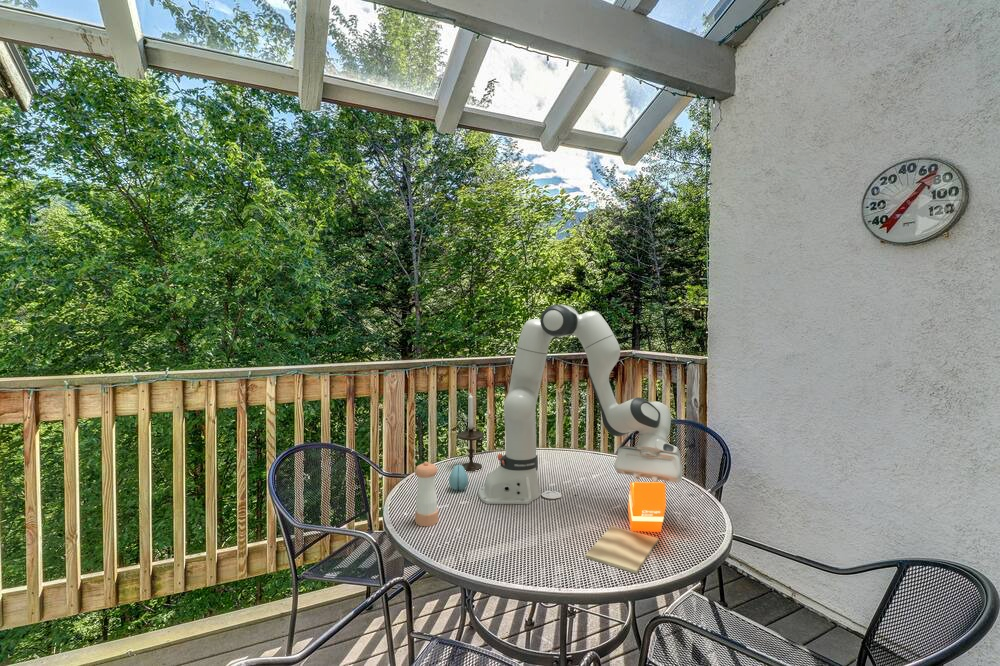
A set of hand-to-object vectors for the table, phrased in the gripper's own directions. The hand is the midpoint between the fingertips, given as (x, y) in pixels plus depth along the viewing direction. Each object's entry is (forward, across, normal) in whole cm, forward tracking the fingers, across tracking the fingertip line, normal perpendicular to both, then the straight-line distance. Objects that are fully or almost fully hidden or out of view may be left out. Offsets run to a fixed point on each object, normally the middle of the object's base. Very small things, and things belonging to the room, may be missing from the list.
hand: (643, 489), depth 142 cm
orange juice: (+6, 0, +8) cm, 10 cm away
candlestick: (-4, -76, +19) cm, 79 cm away
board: (+19, -2, -2) cm, 19 cm away
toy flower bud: (+9, -68, +5) cm, 69 cm away
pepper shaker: (+29, -60, -14) cm, 68 cm away
